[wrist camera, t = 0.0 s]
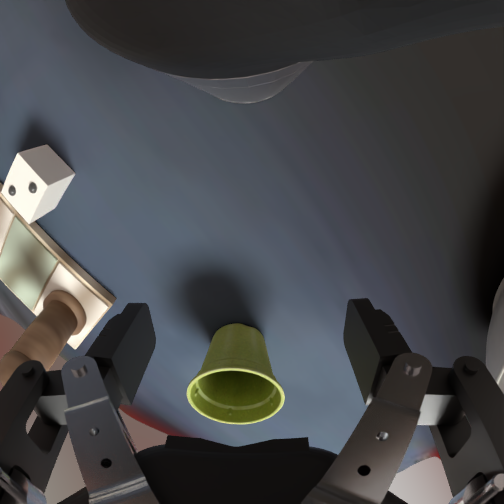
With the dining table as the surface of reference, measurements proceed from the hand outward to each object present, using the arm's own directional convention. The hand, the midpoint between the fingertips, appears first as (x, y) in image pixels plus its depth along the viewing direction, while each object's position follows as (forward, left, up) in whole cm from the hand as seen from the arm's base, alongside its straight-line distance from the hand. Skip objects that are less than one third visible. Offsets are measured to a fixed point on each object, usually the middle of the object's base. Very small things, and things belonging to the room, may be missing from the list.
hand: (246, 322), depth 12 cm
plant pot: (+17, -2, -17) cm, 24 cm away
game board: (+3, -31, -17) cm, 36 cm away
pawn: (+12, -23, -16) cm, 30 cm away
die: (-4, -21, -17) cm, 28 cm away
